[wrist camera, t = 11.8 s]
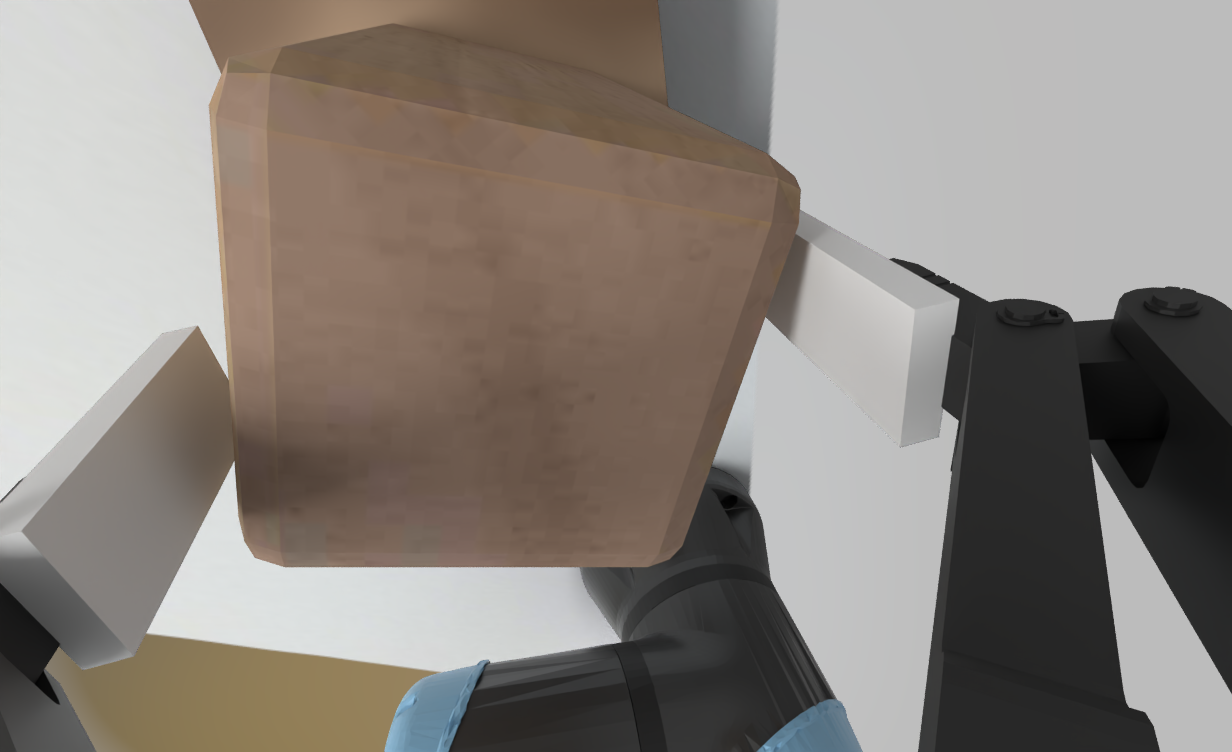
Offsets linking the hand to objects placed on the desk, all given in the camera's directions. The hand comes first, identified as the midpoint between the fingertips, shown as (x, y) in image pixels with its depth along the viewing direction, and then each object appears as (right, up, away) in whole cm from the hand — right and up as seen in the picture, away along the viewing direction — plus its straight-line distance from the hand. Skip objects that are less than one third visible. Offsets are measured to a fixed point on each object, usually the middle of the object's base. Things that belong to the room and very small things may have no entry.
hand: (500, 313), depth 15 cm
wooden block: (-3, +8, +13) cm, 16 cm away
